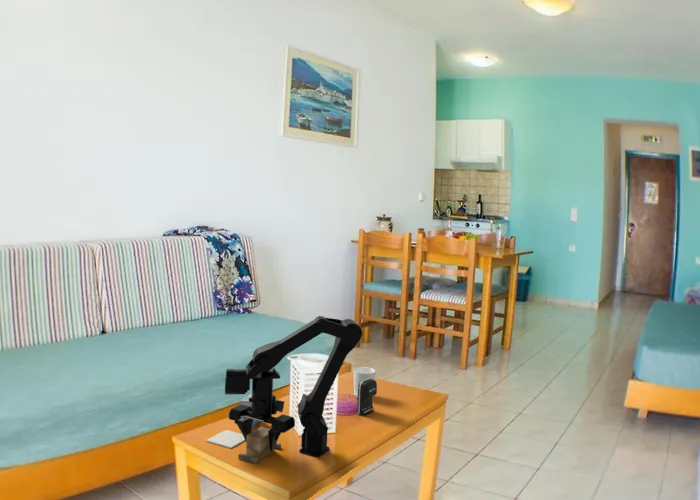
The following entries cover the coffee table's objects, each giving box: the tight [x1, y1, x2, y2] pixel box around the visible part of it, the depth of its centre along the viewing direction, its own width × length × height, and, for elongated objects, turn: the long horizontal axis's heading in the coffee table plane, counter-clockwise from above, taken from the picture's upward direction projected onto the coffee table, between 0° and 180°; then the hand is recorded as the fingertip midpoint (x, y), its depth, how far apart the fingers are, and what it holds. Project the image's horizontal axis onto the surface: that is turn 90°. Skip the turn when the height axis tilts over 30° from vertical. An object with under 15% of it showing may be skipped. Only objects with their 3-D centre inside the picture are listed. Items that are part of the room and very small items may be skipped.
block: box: [245, 426, 275, 461], centre depth 166 cm, size 4×7×6 cm, turn 153°
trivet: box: [205, 429, 246, 449], centre depth 174 cm, size 9×9×1 cm
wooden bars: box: [238, 442, 282, 465], centre depth 166 cm, size 6×12×1 cm, turn 153°
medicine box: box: [238, 392, 260, 429], centre depth 186 cm, size 8×4×9 cm, turn 168°
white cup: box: [353, 366, 376, 396], centre depth 216 cm, size 8×8×10 cm
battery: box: [356, 378, 378, 416], centre depth 200 cm, size 7×4×11 cm, turn 144°
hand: (260, 447), depth 166 cm, fingers open, 7 cm apart
